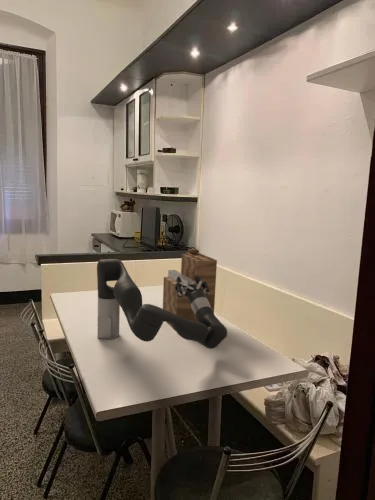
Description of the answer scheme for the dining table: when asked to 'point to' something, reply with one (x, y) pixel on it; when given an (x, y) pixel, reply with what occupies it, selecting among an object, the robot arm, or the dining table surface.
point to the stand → (206, 272)
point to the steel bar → (174, 275)
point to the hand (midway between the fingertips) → (187, 277)
